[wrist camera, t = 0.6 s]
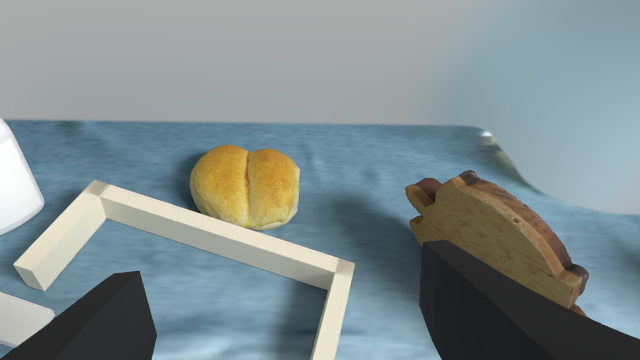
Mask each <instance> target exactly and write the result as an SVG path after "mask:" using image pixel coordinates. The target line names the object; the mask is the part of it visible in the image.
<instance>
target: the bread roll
mask: <svg viewBox="0 0 640 360" xmlns="http://www.w3.org/2000/svg"><path fill="white" fill-rule="evenodd" d="M299 174H300V169H299V168H298V167H297V166H296V165H295V163H294V162H293V160H292V159H291V158H289V157H288V156H286V155H285V154H283V153H281V152H279V151H277V150H274V149H260V150H257V151H253V152H248V151H246V150H245V149H243V148H241V147H238V146H235V145H223V146H219V147H216V148H213V149H212V150H210V151H209V152H207V153H206V154H205V155H204V156H202V157H201V159H200V160H199V161H198V162H197V164H196V165H195V167H194V169H193V171H192V173H191V177H190V189H191V194H192V197H193V199H194V202H195V204H196V206H197V208H198V209H199V211H200V212H201V213H202V214H203V215H206V216H209V217H212V218H215V219H218V220H221V221H225V222H228V223H231V224H234V225H237V226H240V227H243V228H246V229H251V230H255V231H264V230H269V229H274V228H277V227H279V226H282V225H284V224H286V223H287V222H289V221H290V220H291V219H292V217H293V216H294V215H295V214H296V213H297V208H298V200H299V194H298V193H299Z"/></svg>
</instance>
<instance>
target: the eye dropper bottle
mask: <svg viewBox="0 0 640 360" xmlns="http://www.w3.org/2000/svg"><path fill="white" fill-rule="evenodd" d="M43 206H44V198H43V196H42V194H41V192H40V190H39V187H38V185H37V183H36V181H35V179H34V177H33V175H32V173H31V170H30V168H29V166H28V164H27V162H26V160H25V158H24V156H23V153H22V151H21V149H20V147H19V145H18V143H17V141H16V139H15V137H14V135H13V133H12V131H11V130H10V128H9V127H8V125H7V124H6V123H5V122H4V121H3V120H2V119H1V118H0V235H2V234H4V233H7V232H9V231H11V230H13V229H15V228H17V227H19V226H20V225H22V224H24V223H25V222H27V221H28V220H30V219H31V218H32V217H34V216H35V215H36V214H37V213H38V212H39V211H40V210H41V209H42V208H43Z"/></svg>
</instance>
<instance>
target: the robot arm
mask: <svg viewBox="0 0 640 360" xmlns="http://www.w3.org/2000/svg"><path fill="white" fill-rule="evenodd" d="M419 305H420V308H421V311H422V314H423V317H424V320H425V323H426V325H427V328H428V331H429V333H430V336H431V339H432V341H433V343H434V345H435V347H436V349H437V351H438V353H439V355H440V357H441V359H442V360H640V339H637V338H635V337H632V336H630V335H627V334H625V333H622V332H620V331H617V330H615V329H612V328H610V327H608V326H605V325H603V324H601V323H599V322H596V321H594V320H592V319H590V318H587V317H585V316H583V315H581V314H578V313H576V312H574V311H572V310H570V309H568V308H566V307H564V306H562V305H560V304H558V303H556V302H554V301H552V300H550V299H548V298H546V297H544V296H542V295H540V294H538V293H537V292H535V291H533V290H531V289H529V288H527V287H525V286H524V285H522V284H520V283H518V282H516V281H515V280H513V279H511V278H510V277H508V276H506V275H504V274H503V273H501V272H499V271H498V270H496V269H494V268H493V267H491V266H489V265H488V264H486V263H484V262H483V261H481V260H479V259H478V258H476V257H475V256H473V255H471V254H470V253H468V252H466V251H465V250H463V249H461V248H460V247H458V246H456V245H455V244H453V243H451V242H449V241H447V240H437V241H427V242H423V244H422V264H421V284H420V304H419ZM156 337H157V334H156V330H155V326H154V323H153V319H152V315H151V312H150V308H149V304H148V300H147V297H146V293H145V289H144V286H143V282H142V278H141V275H140V271H133V272H123V273H114V274H113V275H111V276H110V277H108V278H107V279H105V280H104V281H103V282H101V283H100V284H98V285H97V286H96V287H95V288H93V289H92V290H91V291H89V292H88V293H87V294H85V295H84V296H83V297H82V298H80V299H79V300H78V301H77V302H75V303H74V304H73V305H71V306H70V307H69V308H68V309H66V310H65V311H64V312H62V313H61V314H60V315H58V316H57V317H56V318H55V319H53V320H52V321H51V322H49V323H48V324H47V325H46V326H44V327H43V328H42V329H40V330H39V331H38V332H36V333H35V334H34V335H32V336H31V337H29V338H28V339H27V340H25V341H24V342H23V343H21V344H20V345H18V346H17V347H16V348H14V349H13V350H11V351H10V352H9V353H7V354H6V355H5V356H3V357H2V358H0V360H152V355H153V351H154V346H155V342H156Z"/></svg>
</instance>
